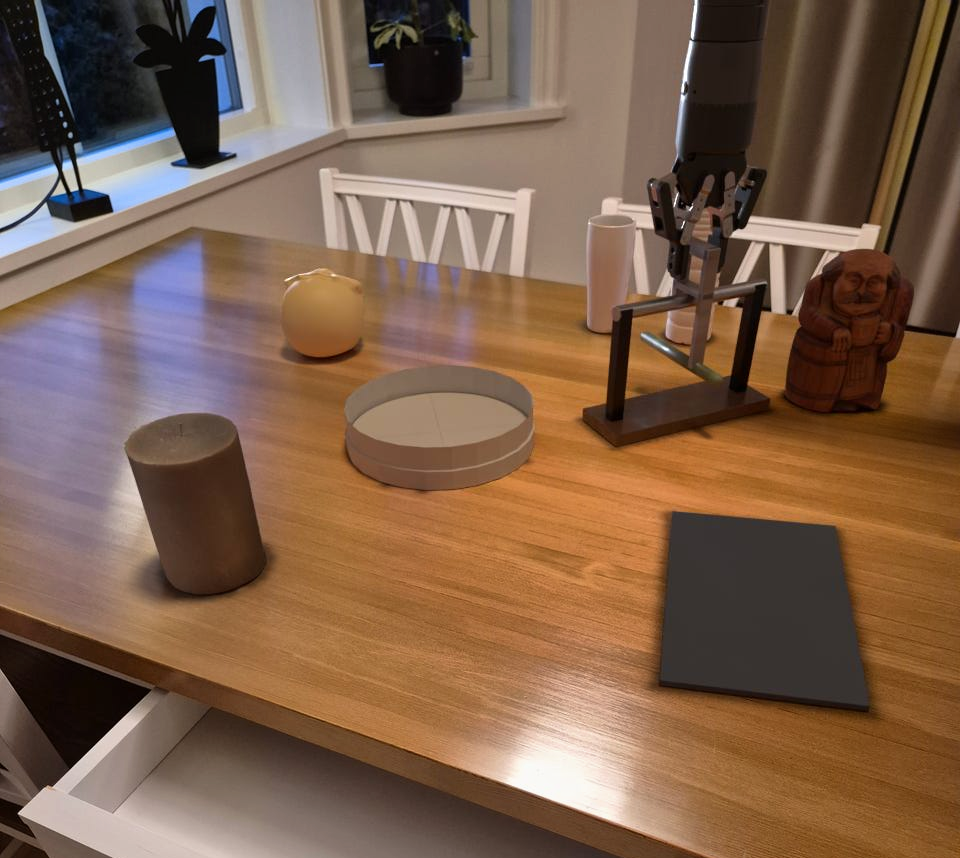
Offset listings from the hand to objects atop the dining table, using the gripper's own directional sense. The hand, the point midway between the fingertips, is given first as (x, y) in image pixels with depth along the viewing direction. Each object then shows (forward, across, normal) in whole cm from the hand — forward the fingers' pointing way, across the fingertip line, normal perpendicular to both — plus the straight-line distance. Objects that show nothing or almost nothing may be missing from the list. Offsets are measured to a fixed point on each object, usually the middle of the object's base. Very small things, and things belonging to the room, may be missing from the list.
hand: (694, 274), depth 96 cm
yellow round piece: (+17, -33, +40) cm, 55 cm away
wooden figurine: (+17, +19, -6) cm, 26 cm away
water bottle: (+17, +17, +22) cm, 32 cm away
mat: (+17, -15, -35) cm, 41 cm away
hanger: (+10, 0, 0) cm, 10 cm away
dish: (+17, -29, +6) cm, 34 cm away
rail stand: (+17, 0, 0) cm, 17 cm away
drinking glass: (+17, +7, +29) cm, 34 cm away
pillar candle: (+17, -58, -8) cm, 61 cm away
